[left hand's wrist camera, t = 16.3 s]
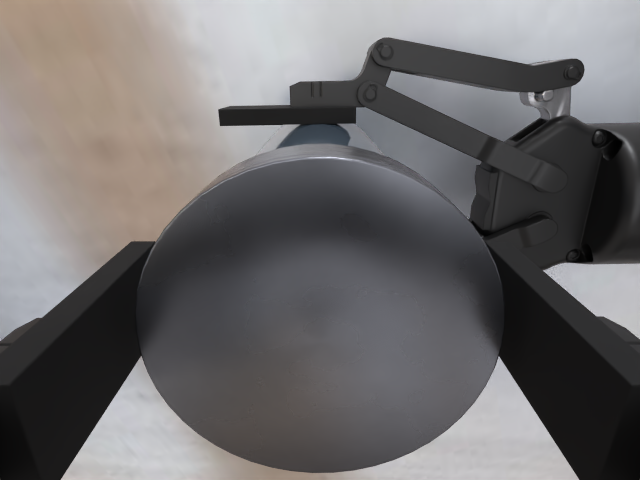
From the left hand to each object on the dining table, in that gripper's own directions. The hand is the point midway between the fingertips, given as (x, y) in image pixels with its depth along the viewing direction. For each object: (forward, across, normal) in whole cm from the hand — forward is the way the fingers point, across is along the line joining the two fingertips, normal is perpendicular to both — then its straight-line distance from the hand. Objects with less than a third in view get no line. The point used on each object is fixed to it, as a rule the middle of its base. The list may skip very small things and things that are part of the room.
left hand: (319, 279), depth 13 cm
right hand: (+10, -5, 0) cm, 11 cm away
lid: (-3, 0, 0) cm, 3 cm away
